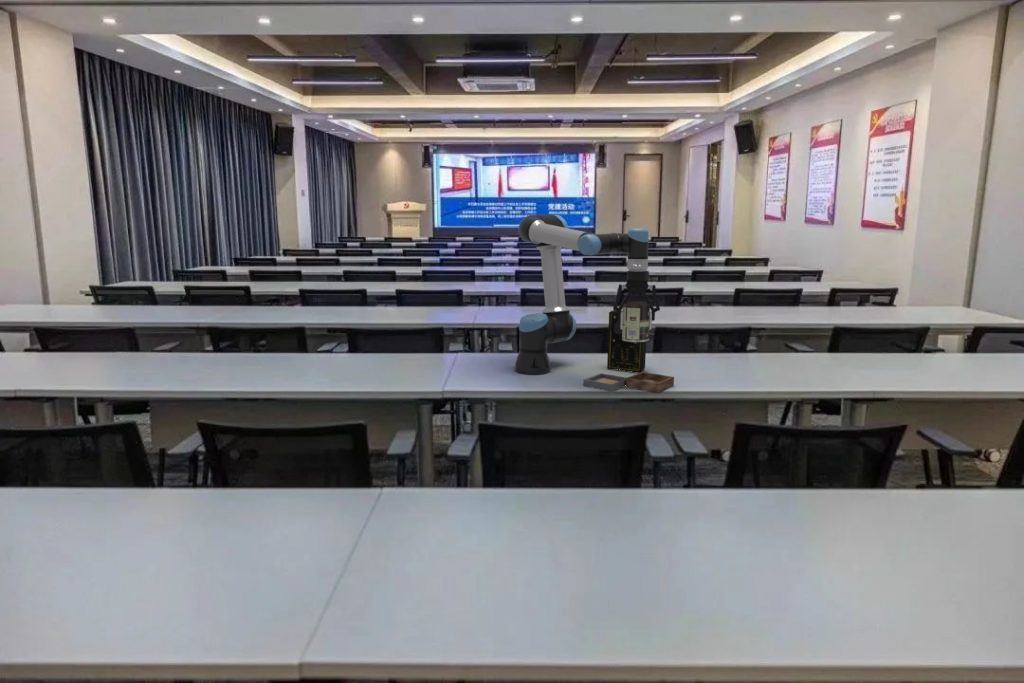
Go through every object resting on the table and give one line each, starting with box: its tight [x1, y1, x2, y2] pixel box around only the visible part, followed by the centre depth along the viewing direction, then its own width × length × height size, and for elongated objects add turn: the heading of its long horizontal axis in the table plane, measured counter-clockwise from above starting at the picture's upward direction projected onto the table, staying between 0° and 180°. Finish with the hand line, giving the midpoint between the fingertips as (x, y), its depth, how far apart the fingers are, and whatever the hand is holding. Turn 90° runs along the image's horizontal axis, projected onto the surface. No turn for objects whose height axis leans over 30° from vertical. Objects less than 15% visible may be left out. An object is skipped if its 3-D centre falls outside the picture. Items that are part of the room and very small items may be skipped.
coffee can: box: [622, 301, 651, 343], centre depth 260 cm, size 10×10×14 cm
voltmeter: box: [606, 310, 647, 374], centre depth 288 cm, size 16×9×25 cm, turn 62°
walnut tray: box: [625, 371, 675, 394], centre depth 264 cm, size 14×14×4 cm
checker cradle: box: [582, 372, 627, 393], centre depth 266 cm, size 13×13×2 cm
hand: (635, 328), depth 260 cm, fingers closed on coffee can, 10 cm apart
